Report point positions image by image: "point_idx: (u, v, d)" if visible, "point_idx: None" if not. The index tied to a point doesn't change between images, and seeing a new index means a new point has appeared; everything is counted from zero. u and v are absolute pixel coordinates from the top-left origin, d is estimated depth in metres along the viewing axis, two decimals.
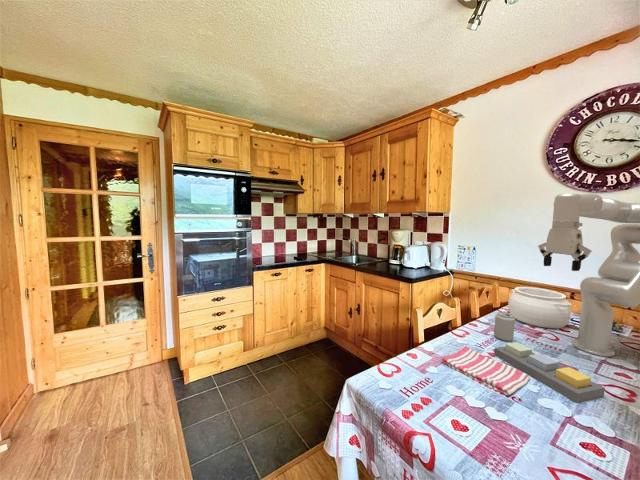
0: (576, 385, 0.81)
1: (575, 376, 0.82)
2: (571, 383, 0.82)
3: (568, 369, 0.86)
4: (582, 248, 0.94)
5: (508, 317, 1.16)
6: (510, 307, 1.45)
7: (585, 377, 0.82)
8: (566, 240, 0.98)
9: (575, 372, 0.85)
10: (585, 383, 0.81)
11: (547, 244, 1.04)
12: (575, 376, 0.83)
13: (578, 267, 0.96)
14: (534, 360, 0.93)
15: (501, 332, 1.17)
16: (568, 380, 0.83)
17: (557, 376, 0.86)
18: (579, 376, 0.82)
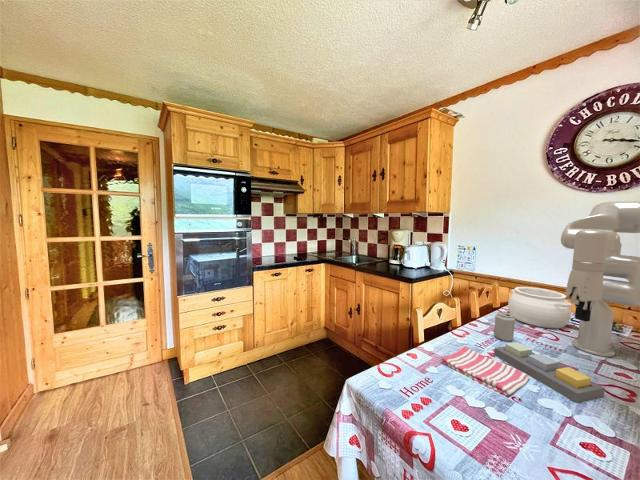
0: (576, 385, 0.81)
1: (575, 376, 0.82)
2: (571, 383, 0.82)
3: (568, 369, 0.86)
4: None
5: (508, 317, 1.16)
6: (510, 307, 1.45)
7: (585, 377, 0.82)
8: (599, 285, 0.84)
9: (575, 372, 0.85)
10: (585, 383, 0.81)
11: (584, 292, 0.83)
12: (575, 376, 0.83)
13: None
14: (534, 360, 0.93)
15: (501, 333, 1.17)
16: (568, 380, 0.83)
17: (557, 376, 0.86)
18: (579, 376, 0.82)
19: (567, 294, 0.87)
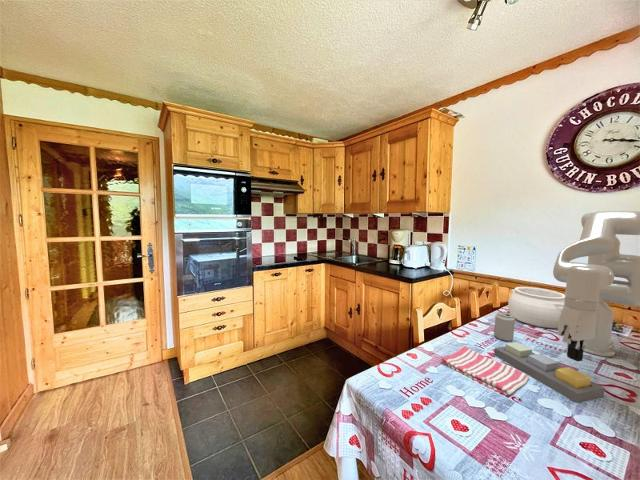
0: (576, 385, 0.81)
1: (575, 376, 0.82)
2: (571, 383, 0.82)
3: (568, 369, 0.86)
4: None
5: (508, 317, 1.16)
6: (510, 307, 1.45)
7: (585, 377, 0.82)
8: (592, 324, 0.81)
9: (575, 372, 0.85)
10: (585, 383, 0.81)
11: (576, 332, 0.79)
12: (575, 376, 0.83)
13: None
14: (534, 360, 0.93)
15: (501, 333, 1.17)
16: (568, 380, 0.83)
17: (557, 376, 0.86)
18: (579, 376, 0.82)
19: (559, 332, 0.83)
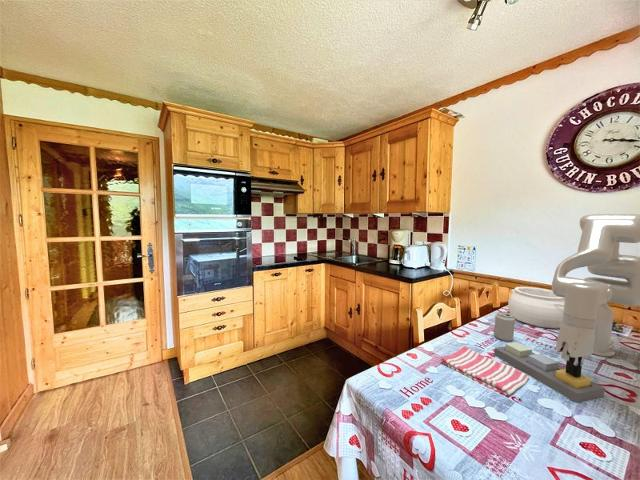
0: (576, 386, 0.81)
1: (575, 377, 0.82)
2: (571, 384, 0.82)
3: None
4: None
5: (508, 317, 1.16)
6: (510, 307, 1.45)
7: (584, 378, 0.82)
8: (590, 340, 0.81)
9: None
10: (585, 384, 0.81)
11: (574, 349, 0.80)
12: (575, 377, 0.83)
13: None
14: (534, 360, 0.93)
15: (501, 333, 1.17)
16: (568, 382, 0.83)
17: (557, 377, 0.86)
18: (578, 377, 0.82)
19: (557, 348, 0.84)
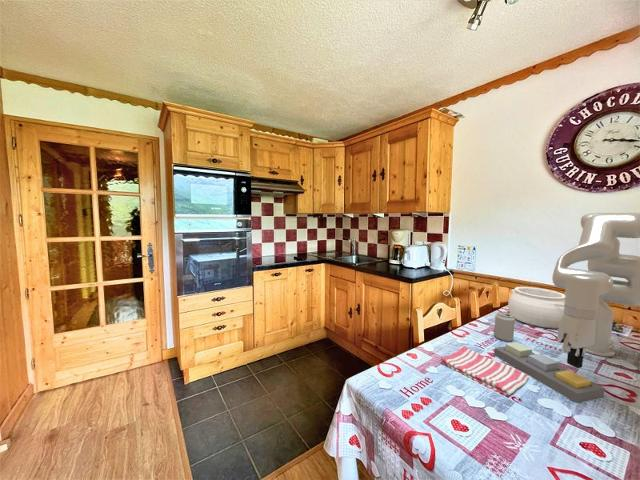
0: None
1: (574, 379, 0.82)
2: None
3: (568, 372, 0.87)
4: None
5: (508, 317, 1.16)
6: (510, 307, 1.45)
7: (584, 380, 0.82)
8: (591, 331, 0.81)
9: (575, 375, 0.85)
10: (584, 386, 0.81)
11: (576, 340, 0.80)
12: (575, 379, 0.83)
13: None
14: (534, 360, 0.93)
15: (501, 333, 1.17)
16: (568, 383, 0.83)
17: None
18: (578, 379, 0.82)
19: (558, 339, 0.84)
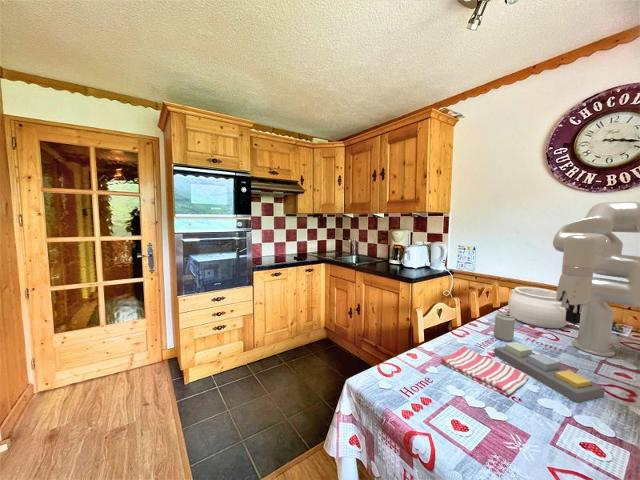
0: None
1: (574, 379, 0.82)
2: None
3: (568, 372, 0.87)
4: None
5: (508, 317, 1.16)
6: (510, 307, 1.45)
7: (584, 380, 0.82)
8: (588, 288, 0.86)
9: (575, 375, 0.85)
10: (584, 386, 0.81)
11: (574, 296, 0.85)
12: (575, 379, 0.83)
13: None
14: (534, 360, 0.93)
15: (501, 333, 1.17)
16: (568, 383, 0.83)
17: None
18: (578, 379, 0.82)
19: (557, 298, 0.89)
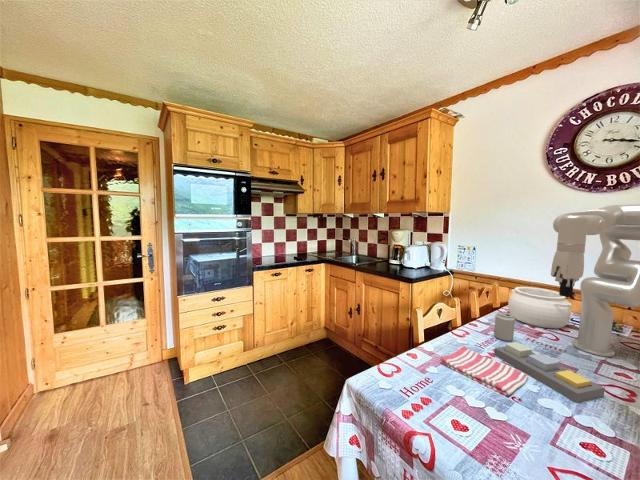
0: None
1: (574, 379, 0.82)
2: None
3: (568, 372, 0.87)
4: None
5: (508, 317, 1.16)
6: (510, 307, 1.45)
7: (584, 380, 0.82)
8: (580, 264, 0.94)
9: (575, 375, 0.85)
10: (584, 386, 0.81)
11: (566, 270, 0.93)
12: (575, 379, 0.83)
13: None
14: (534, 360, 0.93)
15: (501, 333, 1.17)
16: (568, 383, 0.83)
17: None
18: (578, 379, 0.82)
19: (552, 273, 0.97)
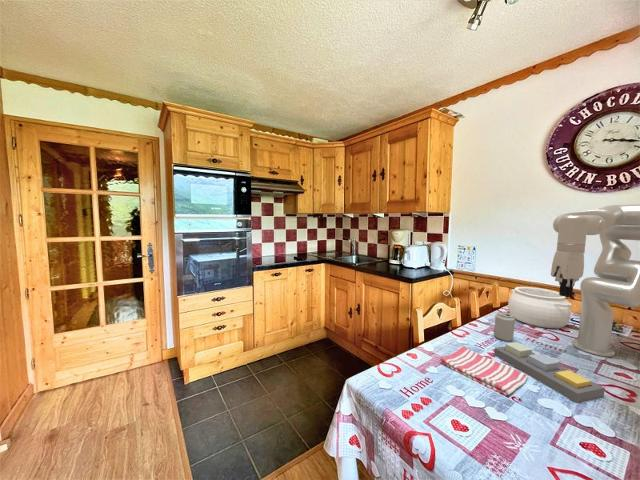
0: None
1: (574, 379, 0.82)
2: None
3: (568, 372, 0.87)
4: None
5: (508, 317, 1.16)
6: (510, 307, 1.45)
7: (584, 380, 0.82)
8: (580, 264, 0.94)
9: (575, 375, 0.85)
10: (584, 386, 0.81)
11: (566, 270, 0.93)
12: (575, 379, 0.83)
13: None
14: (534, 360, 0.93)
15: (501, 333, 1.17)
16: (568, 383, 0.83)
17: None
18: (578, 379, 0.82)
19: (552, 273, 0.97)
